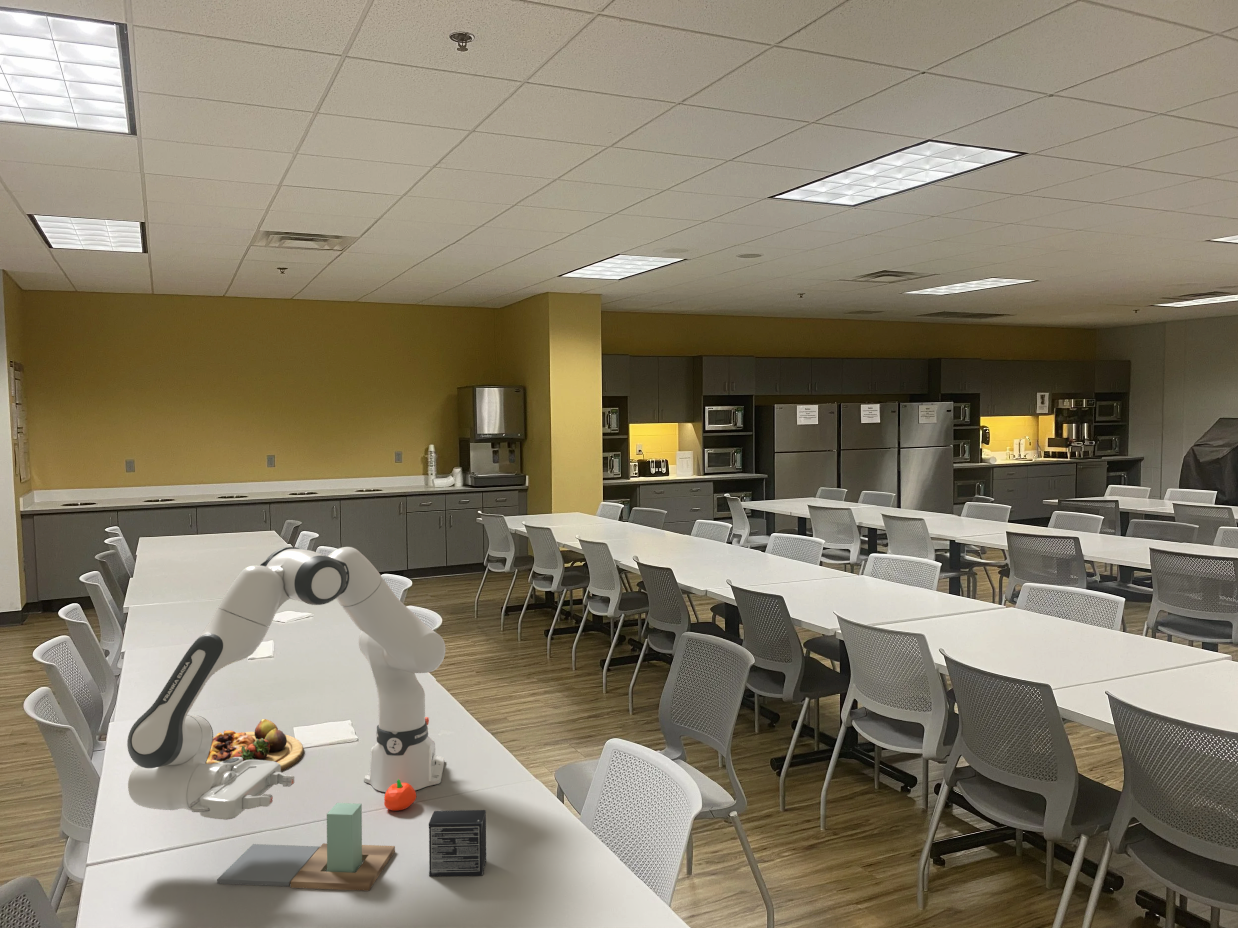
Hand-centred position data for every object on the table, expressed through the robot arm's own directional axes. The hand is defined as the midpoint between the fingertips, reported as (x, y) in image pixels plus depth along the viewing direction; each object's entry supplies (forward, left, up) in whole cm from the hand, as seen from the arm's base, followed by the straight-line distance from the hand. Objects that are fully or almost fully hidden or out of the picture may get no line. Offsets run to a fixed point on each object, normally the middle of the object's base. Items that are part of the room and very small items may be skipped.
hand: (282, 790), depth 170 cm
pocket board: (0, +12, -15) cm, 20 cm away
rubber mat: (0, -3, -15) cm, 16 cm away
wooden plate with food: (-53, -37, -16) cm, 66 cm away
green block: (0, +12, -15) cm, 20 cm away
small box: (-2, +34, -16) cm, 38 cm away
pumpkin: (-28, +14, -16) cm, 35 cm away
